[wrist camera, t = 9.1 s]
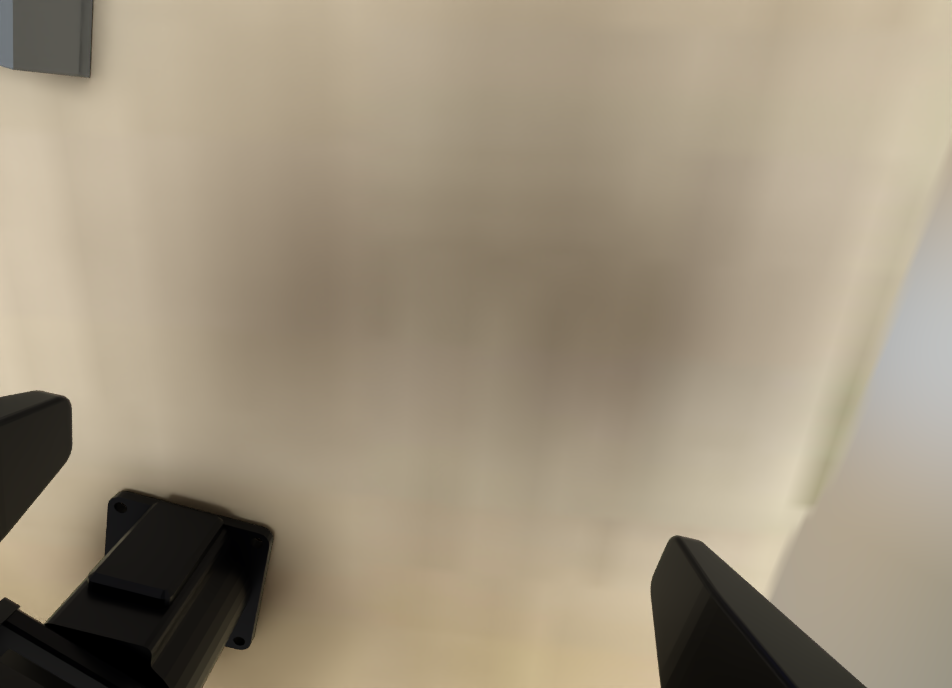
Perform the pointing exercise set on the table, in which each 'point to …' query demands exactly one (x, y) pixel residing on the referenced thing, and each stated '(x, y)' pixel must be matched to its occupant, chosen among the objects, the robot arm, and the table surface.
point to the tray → (46, 36)
